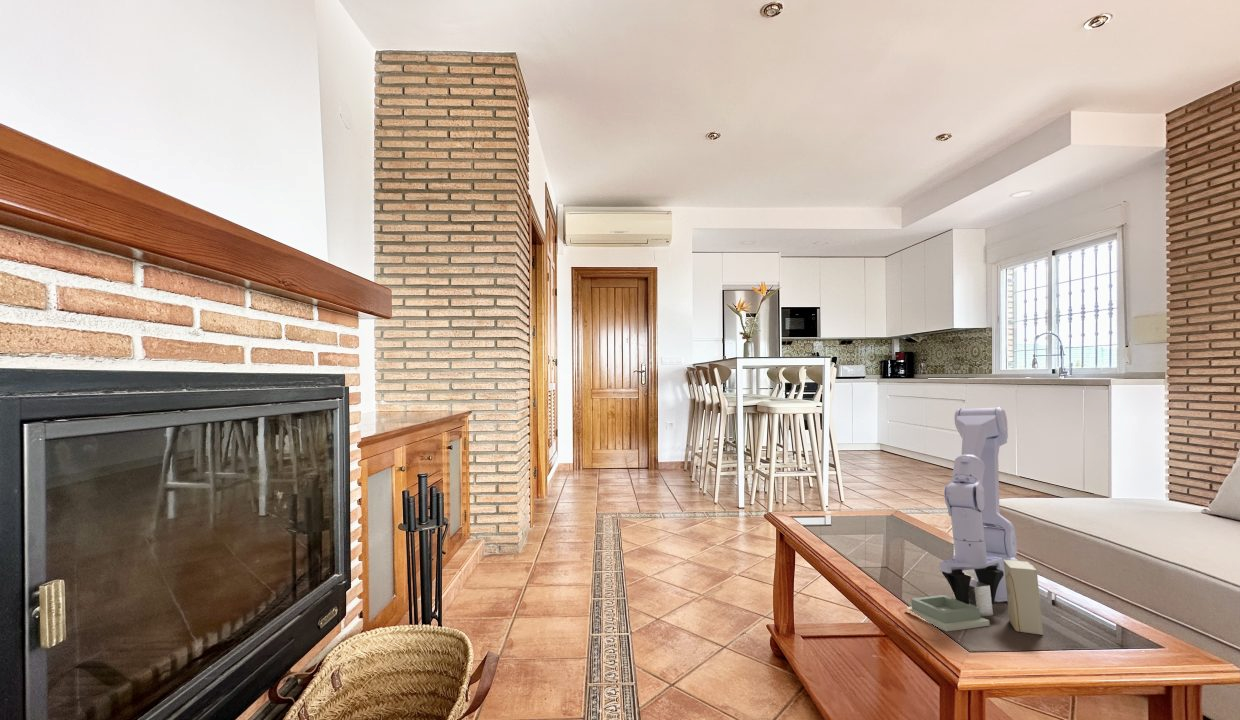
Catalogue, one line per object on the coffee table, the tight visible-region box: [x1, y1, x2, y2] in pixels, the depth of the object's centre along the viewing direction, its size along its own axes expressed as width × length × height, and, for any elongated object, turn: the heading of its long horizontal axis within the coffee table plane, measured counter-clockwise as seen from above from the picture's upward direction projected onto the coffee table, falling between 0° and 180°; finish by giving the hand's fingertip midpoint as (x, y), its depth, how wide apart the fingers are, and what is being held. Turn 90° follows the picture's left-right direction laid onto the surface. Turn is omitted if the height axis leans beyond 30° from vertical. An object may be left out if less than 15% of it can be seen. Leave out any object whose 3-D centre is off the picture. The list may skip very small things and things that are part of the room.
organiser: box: [906, 594, 991, 632], centre depth 104 cm, size 10×10×3 cm
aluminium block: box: [969, 579, 994, 618], centre depth 107 cm, size 4×4×6 cm
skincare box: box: [1003, 559, 1044, 636], centre depth 99 cm, size 6×4×12 cm
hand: (975, 604), depth 107 cm, fingers open, 6 cm apart
